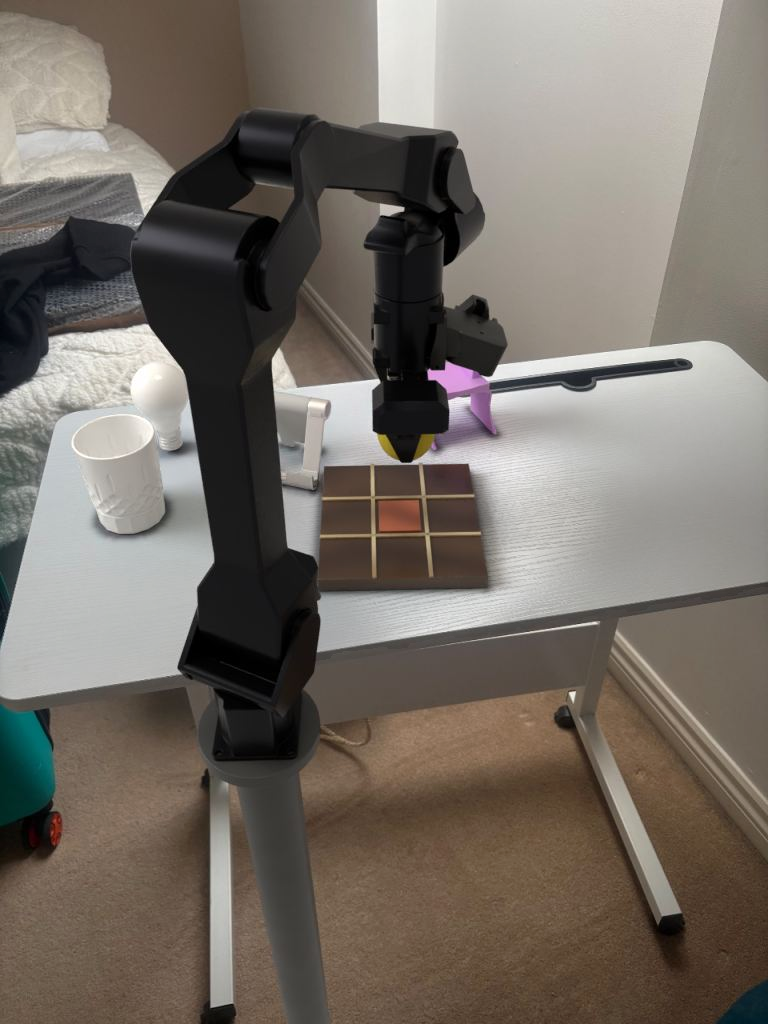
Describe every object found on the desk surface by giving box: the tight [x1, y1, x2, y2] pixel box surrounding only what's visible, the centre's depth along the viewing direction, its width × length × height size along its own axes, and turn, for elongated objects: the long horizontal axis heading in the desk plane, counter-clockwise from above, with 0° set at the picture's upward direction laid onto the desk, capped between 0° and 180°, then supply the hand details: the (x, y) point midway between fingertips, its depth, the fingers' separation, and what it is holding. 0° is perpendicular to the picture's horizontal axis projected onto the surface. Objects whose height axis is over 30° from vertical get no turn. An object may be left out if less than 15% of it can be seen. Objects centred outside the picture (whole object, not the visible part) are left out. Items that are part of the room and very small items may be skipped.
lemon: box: [376, 433, 436, 462], centre depth 77 cm, size 6×6×8 cm
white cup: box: [70, 413, 166, 535], centre depth 84 cm, size 8×8×10 cm
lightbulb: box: [129, 360, 189, 452], centre depth 93 cm, size 6×6×11 cm
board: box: [317, 462, 489, 592], centre depth 85 cm, size 18×16×2 cm
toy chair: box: [428, 317, 498, 451], centre depth 95 cm, size 8×9×15 cm
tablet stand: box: [274, 390, 332, 491], centre depth 91 cm, size 9×8×8 cm
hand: (405, 444), depth 79 cm, fingers closed on lemon, 5 cm apart
